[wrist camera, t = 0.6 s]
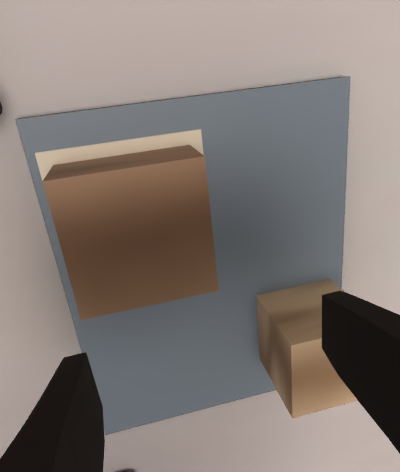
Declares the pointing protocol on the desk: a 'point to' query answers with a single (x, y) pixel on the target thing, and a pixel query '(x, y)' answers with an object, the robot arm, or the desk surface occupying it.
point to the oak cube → (299, 348)
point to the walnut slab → (134, 228)
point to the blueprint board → (224, 235)
